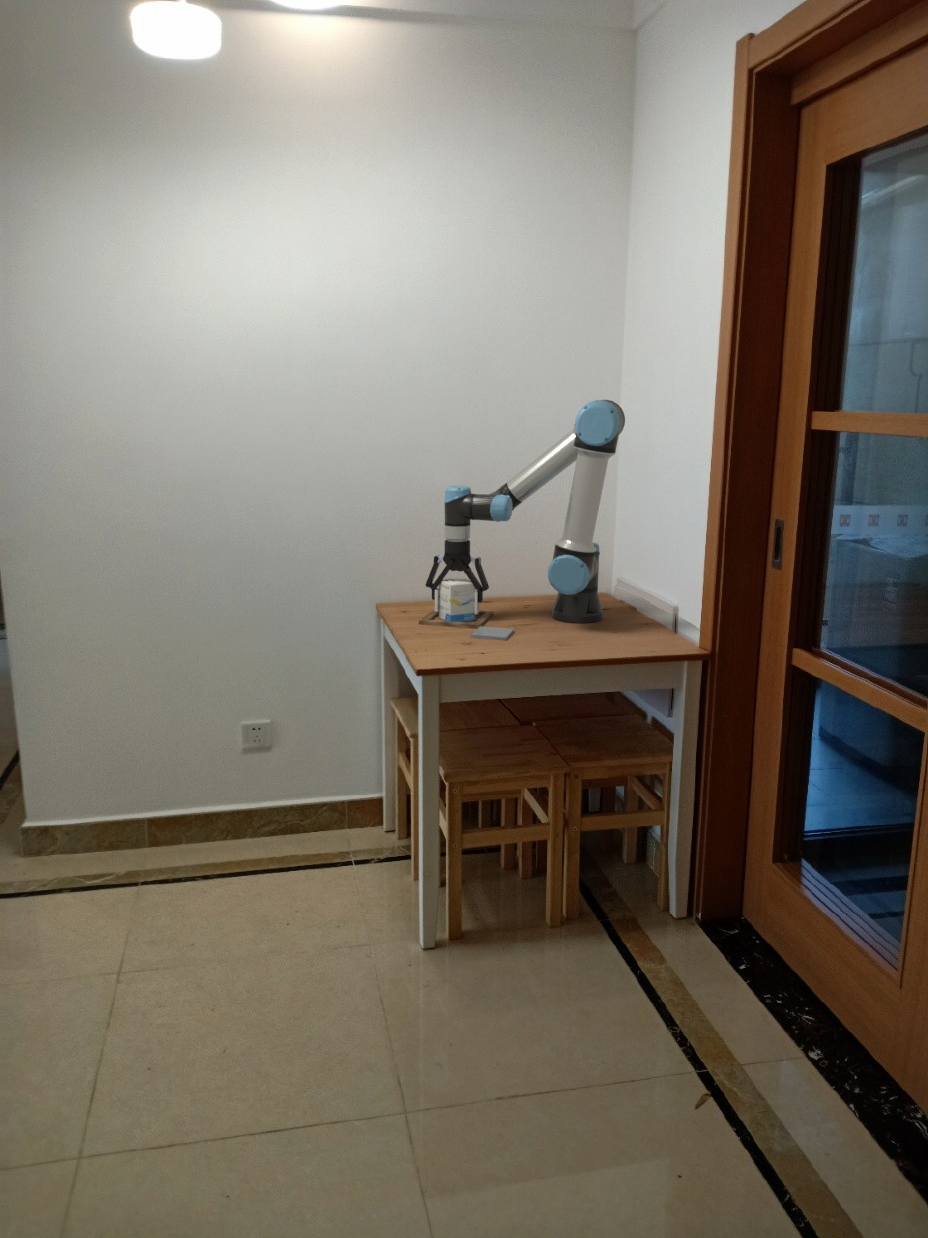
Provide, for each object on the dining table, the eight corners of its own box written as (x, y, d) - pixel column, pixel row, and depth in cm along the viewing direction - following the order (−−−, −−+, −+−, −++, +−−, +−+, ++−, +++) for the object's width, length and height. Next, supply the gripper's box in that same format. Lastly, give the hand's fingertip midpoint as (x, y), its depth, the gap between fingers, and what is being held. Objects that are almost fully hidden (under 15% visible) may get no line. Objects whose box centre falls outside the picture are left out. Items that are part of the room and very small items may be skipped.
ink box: (476, 621, 300) (476, 582, 297) (450, 623, 296) (450, 584, 293) (463, 614, 307) (464, 576, 305) (438, 617, 304) (438, 579, 301)
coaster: (514, 631, 288) (514, 628, 288) (506, 640, 278) (506, 637, 278) (479, 629, 290) (479, 626, 290) (470, 637, 281) (470, 634, 281)
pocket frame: (493, 614, 308) (493, 611, 308) (478, 628, 291) (478, 625, 291) (436, 610, 312) (436, 607, 312) (418, 624, 296) (418, 620, 295)
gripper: (500, 539, 297) (499, 611, 302) (422, 535, 303) (422, 606, 308) (494, 543, 290) (493, 617, 295) (414, 539, 296) (414, 611, 301)
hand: (457, 611), depth 301 cm, fingers closed on ink box, 11 cm apart
